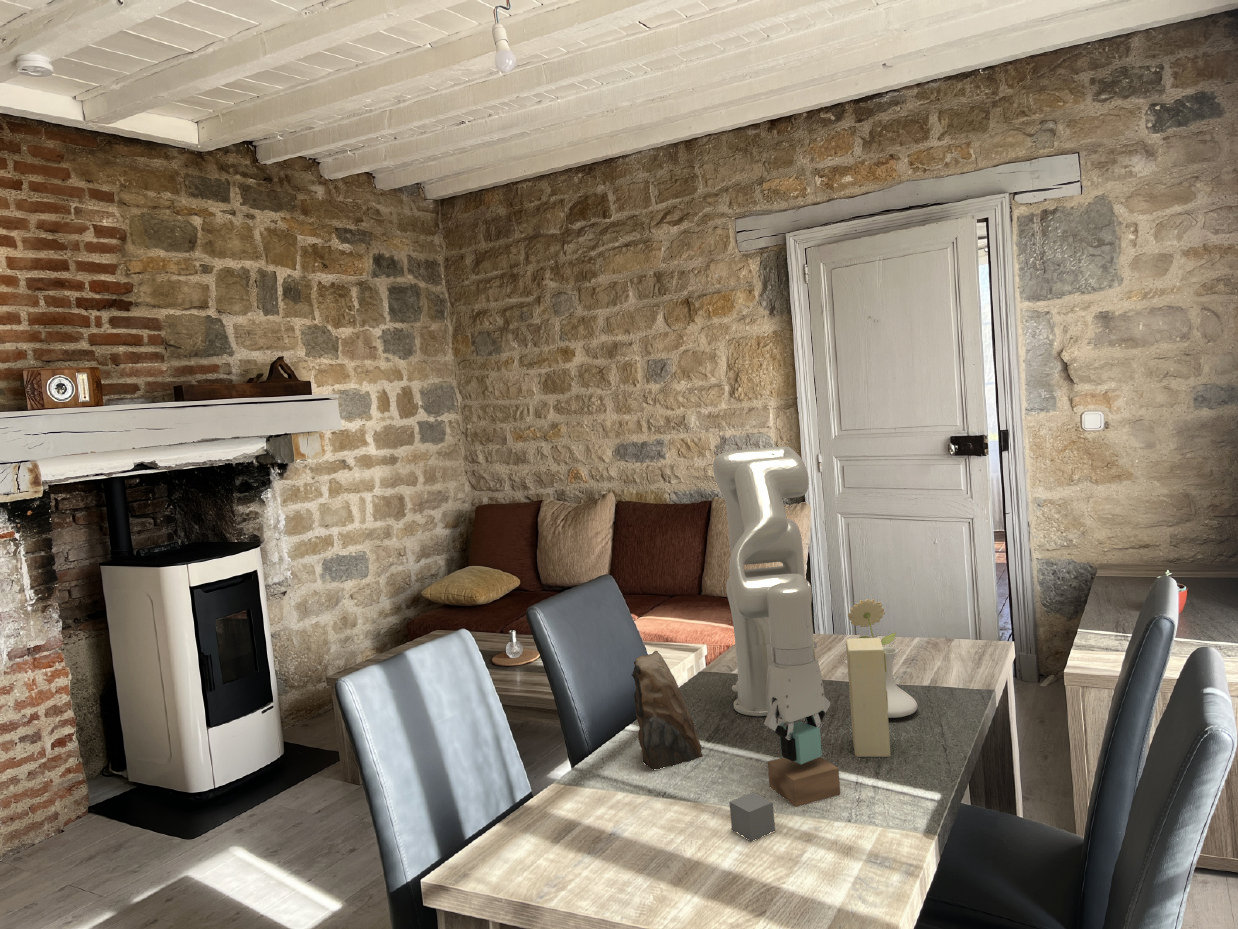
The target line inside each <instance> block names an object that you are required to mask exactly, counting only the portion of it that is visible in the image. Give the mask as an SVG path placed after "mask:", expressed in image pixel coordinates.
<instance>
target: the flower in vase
mask: <svg viewBox="0 0 1238 929" xmlns="http://www.w3.org/2000/svg"><path fill="white" fill-rule="evenodd" d="M885 614H886V612H885V608H884V607H883V604H882V602H881V601H876V600H875V599H874V598H872V599H869V598H867V599H865V600H863V599H861V600H858V602H856V603H854V605H852V607H851V608H850V609H849V613H847V618H848V620H849V621H850V624H851V625H854V626H856V627H857V626H859V627H860V628H865V627H867V628H868V627H869V630H870V633H871V636H872V637H871V636H869V635H868V636H867V635H862V636H859V637H858V638H875V637H874V636H875V635H874V633H873V630H872V626H874V625H875V624H876V623H880V622H881V619H882V618H884V615H885ZM896 635H897V632H896V631H895V632H893V633H891V634H888V635H885V636H883V637H882V639H880V640H881V643H882V646H883V650H884V652H885V655H886V671H887V672H885V678H886V690H887V698H888V719H894V718H895V719H897V718H904V717H906V716H907V717H908V716H910V715H912V714H914V713H915V712H916V711H917V709H918V707H919V706H918V704H917V701H916V700H915V698H914V697H912V695H910V694H908V693H907V692H906V691H905V690H903V689H901V687H899V686H898V685H897V684H896V682H895V680H894V674H893V673H894V671H893V668H894V665H893V664H894V659H895V657H896V654H897V653H898V652H899V649H897V648H896V647H891V646H884V645H888V644H890V643H892V642H893V641H894V640H895V637H896Z"/></svg>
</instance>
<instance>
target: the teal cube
mask: <svg viewBox="0 0 1238 929" xmlns="http://www.w3.org/2000/svg"><path fill="white" fill-rule="evenodd" d="M784 729H785V730H786V725H785V726H784ZM792 738H794V739H795V748H796V761H794V762H797V763H799V764H803V763H806V762H808V761H811V760H813V759H816V758H818V757H821V758H822V757H823V753H822V740H821V739H822V738H821V728H817V727H814V726H812V725H809V724H806V722H805V721H804V722H803V721H802V720H798V721H795V722H794V726H793V734H792ZM779 742H780V745H781V741H780V740H779ZM780 755H781V757H783V756H782V752H781V751H780Z"/></svg>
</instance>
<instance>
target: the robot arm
mask: <svg viewBox="0 0 1238 929" xmlns="http://www.w3.org/2000/svg"><path fill="white" fill-rule="evenodd" d="M806 466H807V465H806V464H805V462H804V460H803V458H802V457H801V456H800V455H799V453H797V451H795V450H794V449H793V448H792V447H789V446H784V445H783V446H769V447H758V448H746V449H745V448H743V449H737V450H730V451H725V452H721V453H719V454H718V455H716V456H715V457H714V459H713V464H712V468H713V469H712V470H713V476H714V480H715V482H716V486H717V487H718V489H719V491H720V493H721V496H722V498H723V500H724V503H725V508H726V519H727V529H728V530H727V531H728V541H729V543H728V544H729V549H730V550H729V551H730V557H729V563H728V574H729V576H728V578H727V579H726V583H725V584H726V595H727V600H728V603H729V607H730V608H729V609H730V613H731V617H732V624H733V625H732V626H733V633H734V646H735V656H736V668H737V679H738V680H737V681H736V683H735V684H733V685H732V686H731V690H732V691H733V692H736V693H737V698H736V699H735V700H734V701H733V710H735V711H736V712H737V713H739V714H741V715H746V716H751V717H766V718H765V720H764V721H763V722H764V723H763V725H764V726H765V727H767V728H768V729H769V730H771V731H773V732H774V733H775V734H776V736H778V737H779V742H780V741H781V744H780V753H781V752H782V756H781V757H782V758H783V757H784V758H786V759H789V760H791V761H796V748H795V739H794V738H792V734H793V726H794V723H796V722H799V721H801V720H803V719H804V722H805V723H806V724H809V725H812V726H814V727H817V728H820V729H822V722H823V719H824V718H825V715H826V713H827V711H828V709H829V708H830V706H831V702H830V700H829V699H828V698H827V697H826V696H825V690H824V683H823V682H824V681H823V677H822V671H821V668H820V665H819V661H818V658H817V657H816V652H815V649H817V647H818V644H817V642H816V641H815V639H814V638H815V635H814V626H813V625H814V624H813V616H812V614H813V613H812V601H813V593H812V592H813V591H812V586H811V583H810V582H809V580H807V578H806V577H805V576H806V575H805V563H804V562H805V561H804V548H803V538H802V534H801V533H802V532H801V530H800V528H799V525H798V524H797V523H796V522H795V521H794V520H792V519H790V518H787V513H786V510H785V509H786V508H785V505H784V500H783V499H789V498H791V499H793V498H801V497H803V496H805V495H806V493H807V492H808V491H809V487H810V486H809V485H810V483H809V482H810V480H809V479H810V477H809V473H808V470H807V467H806ZM769 563H771V564H772V563H781V564H782V565H781V566H779V565H778V566H769V567H756V568H747V569H744V566H745V565H758V564H759V565H760V564H769ZM785 726H786V730H785V729H784V727H785Z"/></svg>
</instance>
